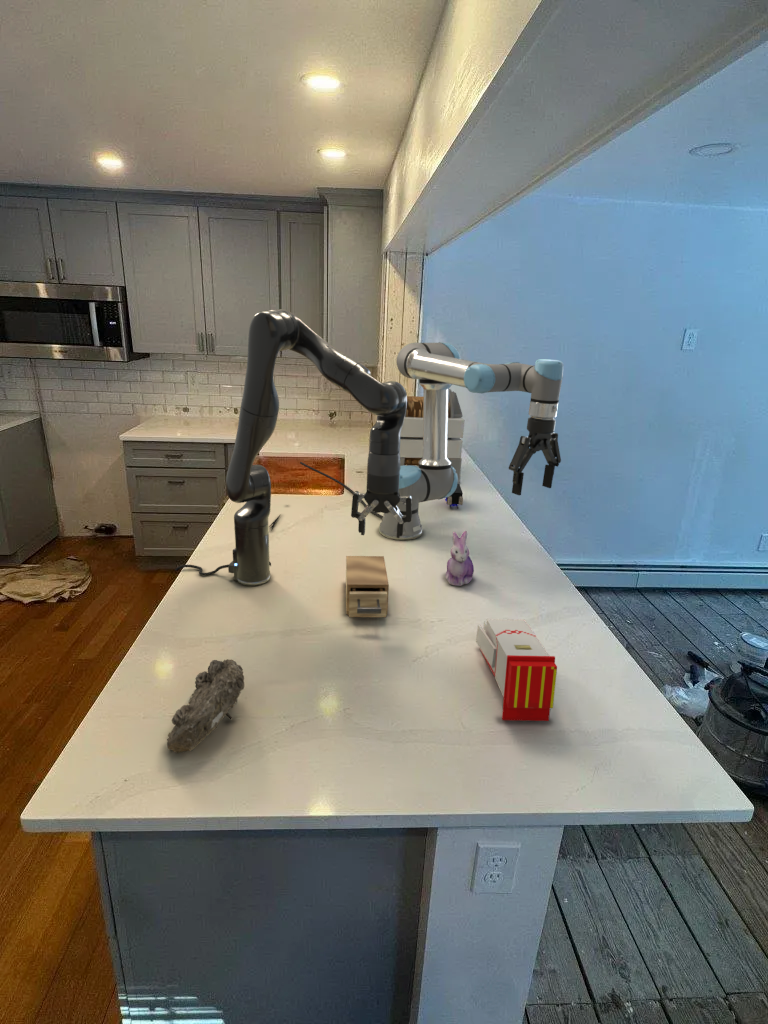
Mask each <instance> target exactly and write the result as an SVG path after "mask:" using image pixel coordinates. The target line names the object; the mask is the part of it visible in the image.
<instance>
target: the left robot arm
mask: <svg viewBox="0 0 768 1024" xmlns="http://www.w3.org/2000/svg"><path fill="white" fill-rule="evenodd" d="M247 339H248V340H247V342H248V343H247V357H246V358H247V359H246V372H245V377H244V386H243V392H242V397H241V403H240V407H239V413H238V414H239V415H238V423H237V424H238V425H237V428H236V429H237V430H236V434H235V435H236V436H235V441H234V446H233V450H232V453H231V457H230V460H229V464H228V467H227V471H226V477H225V490H226V494H227V495H226V496H227V497H228V498H229V500H230V501H231V502H234V503H237V504H242V503H243V506H241V507H240V508H239V509H238V510H237V511H236V512H235V513H234V515H233V521H234V522H233V524H234V526H233V527H234V528H233V529H234V544H235V547H234V548H233V549H232V561H231V562H230V563H229V564H223V565H220V566H218V567H216V569H214V570H212V571H209V572H203V568H202V567H201V566H199V565H195V564H182V565H179V566H177V567H176V568H175V569H174V571H176V572H177V571H179V570H181V569H184V568H191V569H196V570H198V573H199V575H200V576H206V577H207V576H211V575H214V574H216V573H218V572H219V571H220V570H222V569H227V568H228V573H229V574H233V581H234V582H235V581H236V582H237V583H239V584H240V585H243V586H249V587H250V586H252V587H253V586H254V587H255V586H260V585H264V584H266V583H267V582H269V581H270V580H271V569H270V567H272V563H271V561H270V534H269V533H270V530H269V529H270V528H269V517H270V514H271V505H272V503H271V502H272V482H271V476H270V473H269V472H268V470H267V468H266V467H265V466H263V465H262V464H254V463H255V460H256V458H257V456H258V455H259V453H260V452H261V450H262V449H263V448H264V446H265V445H266V444H267V442H268V441H269V440H270V438H271V437H272V435H273V433H275V429H276V426H277V421H278V417H279V412H280V398H279V393H278V391H277V387H276V384H275V380H274V372H275V366H276V361H277V357H278V354H279V352H282V351H287V350H290V351H293V352H295V353H297V354H300V355H301V356H303V357H305V358H306V359H308V360H309V361H310V362H311V363H312V364H313V365H314V366H315V367H316V369H317V370H318V372H319V373H320V374H321V375H322V377H323V378H325V379H326V380H327V381H329V383H331V384H333V385H335V386H336V387H337V388H339V389H341V390H342V391H343V392H345V393H347V394H349V395H350V396H352V398H353V399H354V400H355V401H356V402H357V403H358V404H359V405H361V407H362V408H364V409H365V410H366V411H368V413H370V414H372V415H375V416H376V421H375V424H374V425H372V427H371V428H370V430H369V438H368V439H369V440H368V441H369V443H368V456H367V464H366V465H367V466H366V467H367V468H366V469H367V470H366V490H365V491H366V492H365V493H363V492H359V491H358V490H355V491H354V494H353V493H352V501H351V512H350V516H351V518H352V519H353V518H354V519H357V520H358V533H360V536H365V534H366V518H367V516H369V514H371V511H374V512H375V513H378V514H380V513H382V514H384V513H386V514H388V513H389V512H391V514H392V515H393V517H395V518H396V520H397V521H398V523H397V538H400V536H402V534H403V525H404V523H405V522H411V518H412V496H411V495H408V496H400V495H399V477H400V434H401V429H402V426H403V422H404V417H405V413H406V408H407V396H408V395H406V393H407V390H406V389H405V387H404V386H403V385H402V384H401V383H400V382H398V381H394V380H389V381H385V382H382V381H380V380H378V379H376V378H375V377H373V376H372V373H371V370H370V369H369V368H367V366H365V365H364V364H362V363H361V362H359V361H357V360H356V359H354V358H352V357H351V356H349V355H347V354H346V353H344V352H343V351H341V350H339V349H338V348H336V347H334V346H333V345H332V344H330V343H329V342H328V341H326V340H325V339H324V338H323V337H321V336H320V335H319V334H317V333H316V332H315V331H314V330H313V329H312V328H310V326H308V325H307V324H306V323H305V322H304V321H303V320H301V319H300V318H299V317H298V316H297V315H296V314H294V313H293V312H291V311H289V310H288V309H284V308H279V309H269V310H267V309H266V310H262V311H259V312H257V313H256V314H254V316H253V317H252V319H251V321H250V325H249V329H248V338H247ZM405 390H406V391H405ZM361 500H364V502H365V503H366V505H367V506H366V508H365V507H364V509H363V510H362V511H361V512H360V511H359V503H361ZM400 501H401V502H402V503H403V505H404V506H406V515H405V516H403V515H402V514H401V512H400V510H399V509H398V507H397V506H396V505H397V504H398V503H399V502H400Z"/></svg>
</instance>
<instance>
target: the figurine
mask: <svg viewBox="0 0 768 1024" xmlns="http://www.w3.org/2000/svg"><path fill="white" fill-rule="evenodd" d="M467 539H468V531H467V530H464V531H463V532H462V533H461V535H460V537H459V535H458V534H457V532H456V531H452V546H451V548H450V558H449V559H448V560H447V562H446V572H445V580H446V581H447V583H448V584H449V585H452V586H457V587H460V586H463V585H468V584H469V583H470V582H471V581H472V580H473V576H474V572H475V567H474V563H473V560H472V559H471V557H470V553H471V551H470V549H469V546H468V545H467Z"/></svg>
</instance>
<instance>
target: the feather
mask: <svg viewBox="0 0 768 1024" xmlns="http://www.w3.org/2000/svg"><path fill="white" fill-rule="evenodd" d="M286 506H288V504H287V505H286ZM281 515H282V513H281V514H279V516H277V517H276V518H275V519H274V520H273V521H272V523H270V524H269V525H268V527H270V528H271V529H270V530H271V532H272V531H273V529H274V527H275V525H276V524H277V522H278V520H279V518H281V517H280V516H281Z"/></svg>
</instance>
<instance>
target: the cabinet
mask: <svg viewBox="0 0 768 1024" xmlns="http://www.w3.org/2000/svg"><path fill="white" fill-rule="evenodd" d="M345 557H346V558H345V611H346V612H345V614H346V615H348V616H349V591H351V588H383V591H387V607H386V616H387V615H388V609H389V608H388V607H389V606H388V605H389V590H390V589H389V586H390V583H389V578H388V572H387V565H386V561H385V556H384V555H346V556H345Z"/></svg>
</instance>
